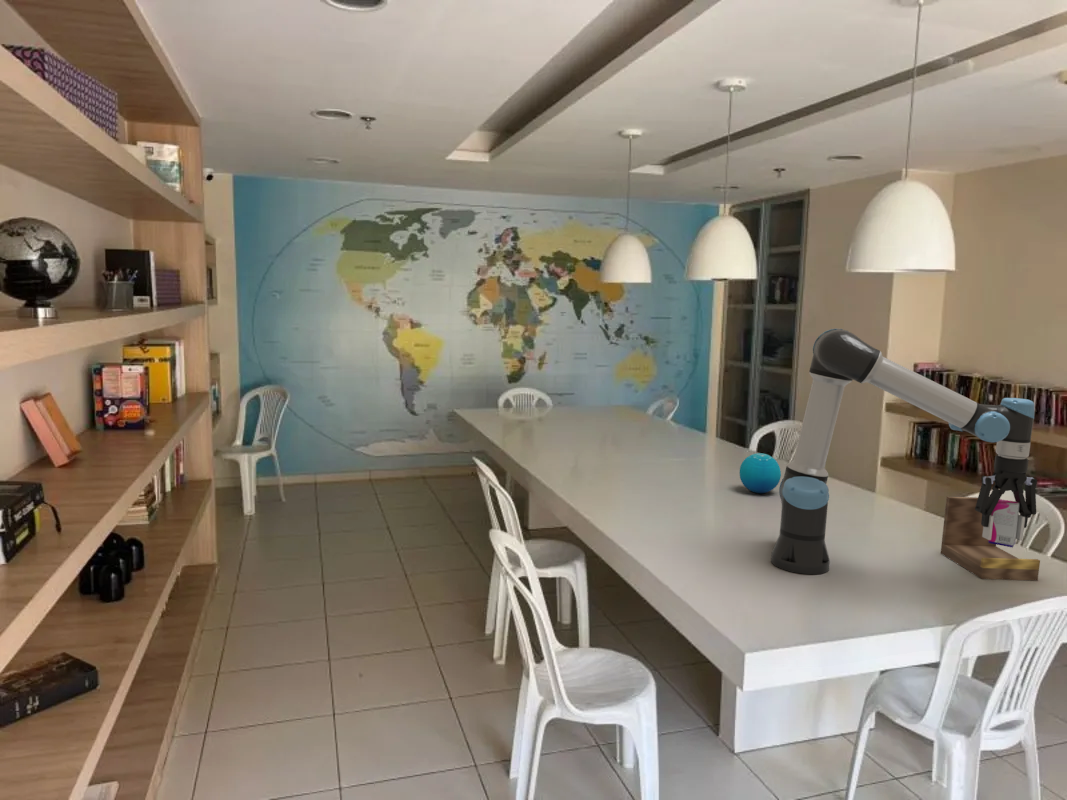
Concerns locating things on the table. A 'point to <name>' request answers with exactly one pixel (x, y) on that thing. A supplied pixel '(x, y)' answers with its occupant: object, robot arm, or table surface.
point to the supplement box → (1005, 523)
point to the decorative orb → (760, 473)
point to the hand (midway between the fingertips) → (1002, 538)
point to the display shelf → (979, 545)
